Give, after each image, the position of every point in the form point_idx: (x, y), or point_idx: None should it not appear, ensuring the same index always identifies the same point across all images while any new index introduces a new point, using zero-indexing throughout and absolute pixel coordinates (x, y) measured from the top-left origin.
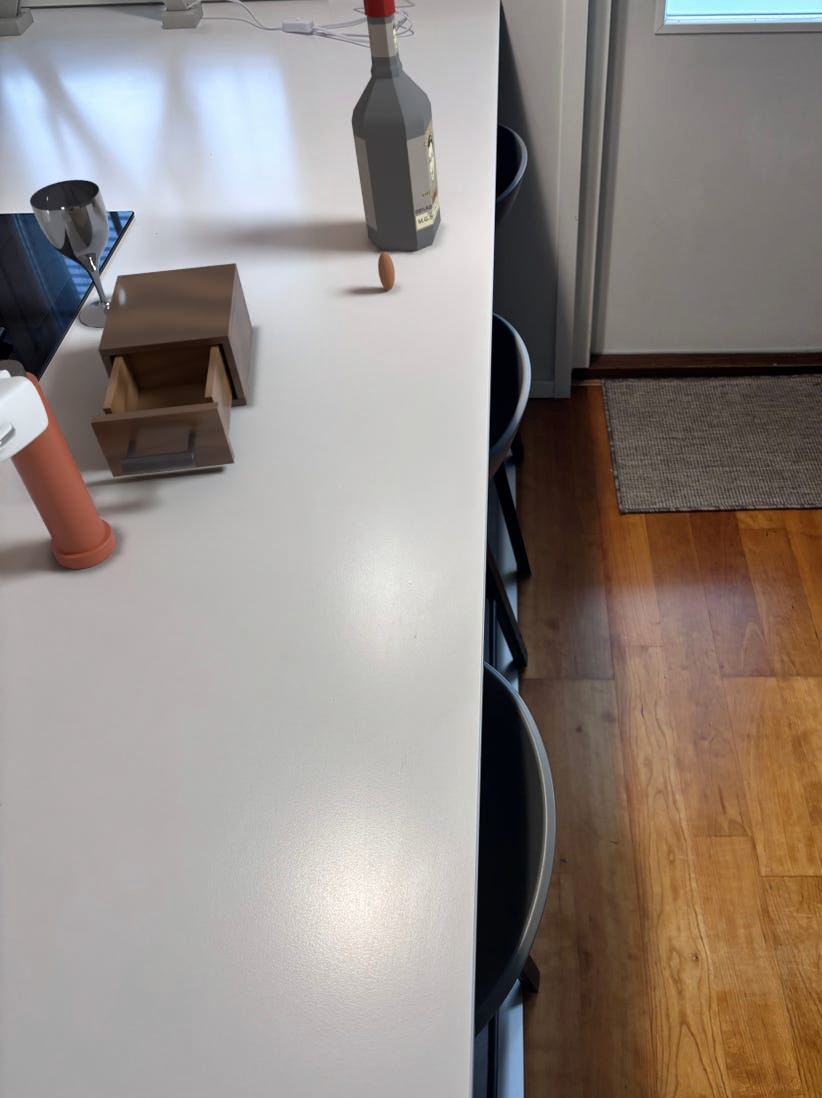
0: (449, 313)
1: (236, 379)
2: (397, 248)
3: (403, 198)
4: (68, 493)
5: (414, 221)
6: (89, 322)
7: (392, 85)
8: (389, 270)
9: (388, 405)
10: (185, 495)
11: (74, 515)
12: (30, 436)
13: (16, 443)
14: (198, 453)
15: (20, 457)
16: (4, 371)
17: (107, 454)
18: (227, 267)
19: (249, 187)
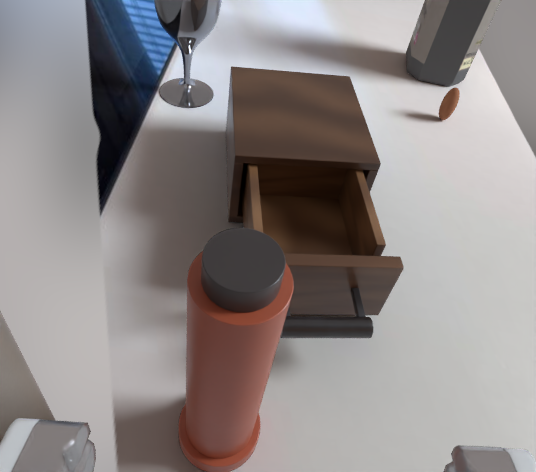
0: (507, 154)
1: None
2: (433, 81)
3: (462, 42)
4: (253, 409)
5: (461, 62)
6: (171, 100)
7: None
8: (455, 104)
9: (502, 253)
10: (325, 351)
11: (244, 428)
12: None
13: None
14: (348, 303)
15: (219, 381)
16: (534, 463)
17: None
18: (343, 79)
19: (285, 4)
